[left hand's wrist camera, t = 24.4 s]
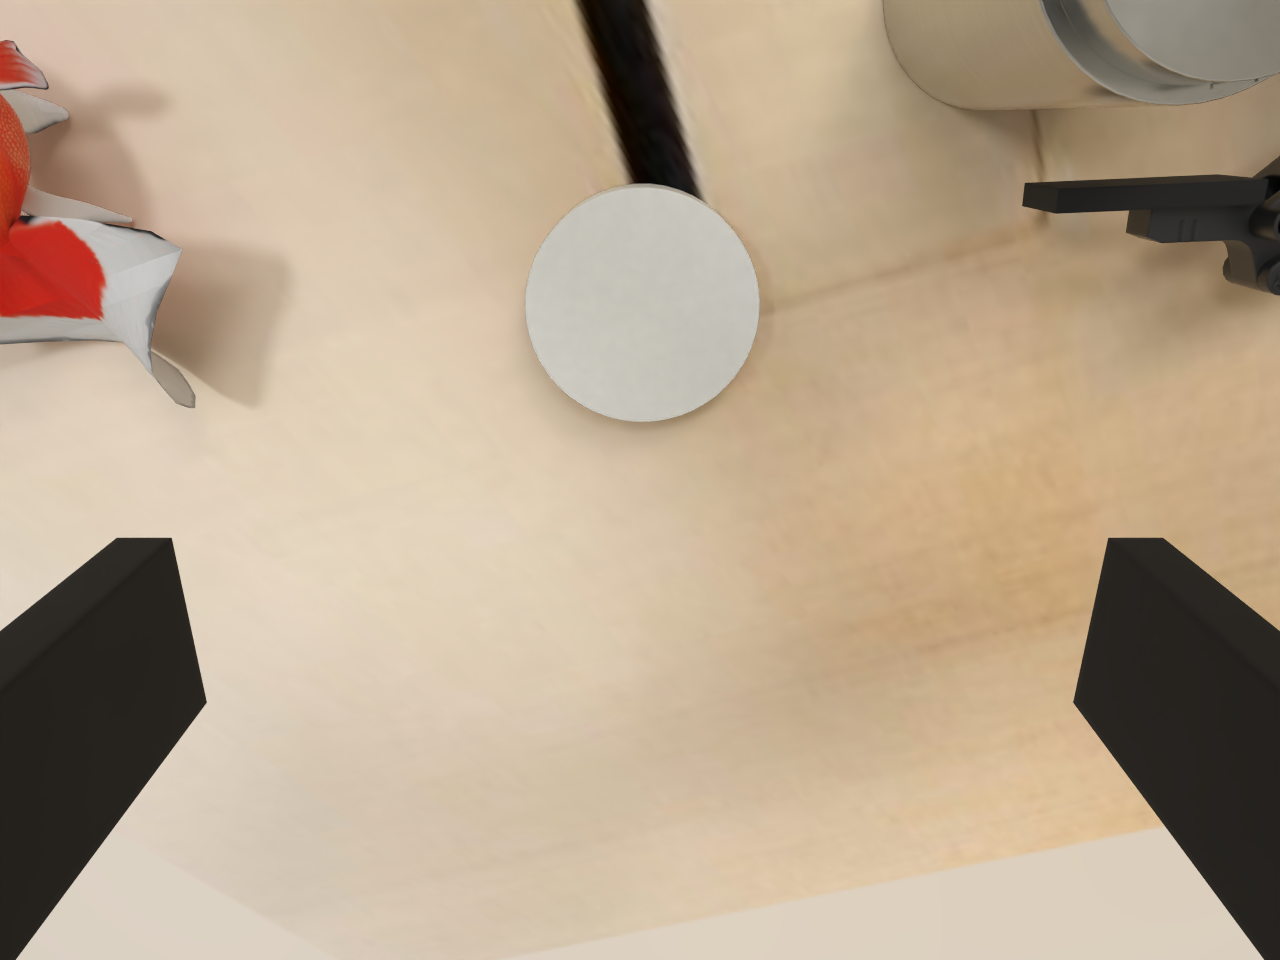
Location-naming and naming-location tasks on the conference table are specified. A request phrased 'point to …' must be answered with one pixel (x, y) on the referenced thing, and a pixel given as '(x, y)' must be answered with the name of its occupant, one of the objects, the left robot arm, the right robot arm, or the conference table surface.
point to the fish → (71, 248)
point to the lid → (642, 303)
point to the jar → (1083, 50)
